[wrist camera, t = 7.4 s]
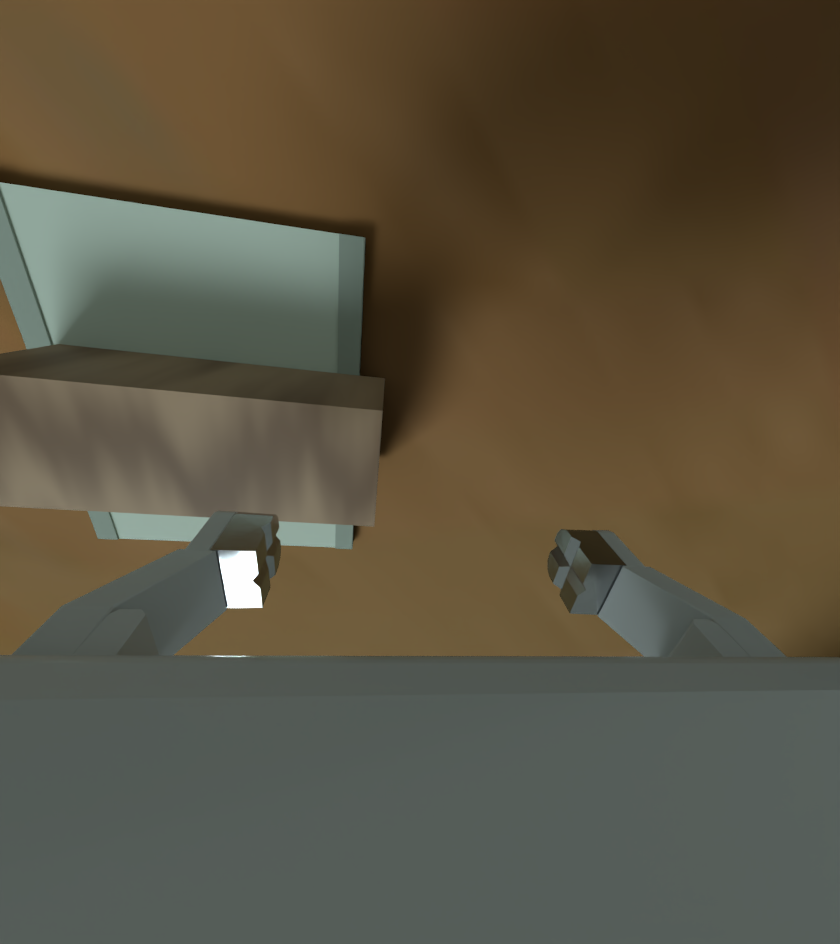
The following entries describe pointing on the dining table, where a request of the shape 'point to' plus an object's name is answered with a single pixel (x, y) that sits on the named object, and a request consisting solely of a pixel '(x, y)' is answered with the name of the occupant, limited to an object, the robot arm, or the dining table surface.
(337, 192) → the dining table surface
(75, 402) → the block
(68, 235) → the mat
